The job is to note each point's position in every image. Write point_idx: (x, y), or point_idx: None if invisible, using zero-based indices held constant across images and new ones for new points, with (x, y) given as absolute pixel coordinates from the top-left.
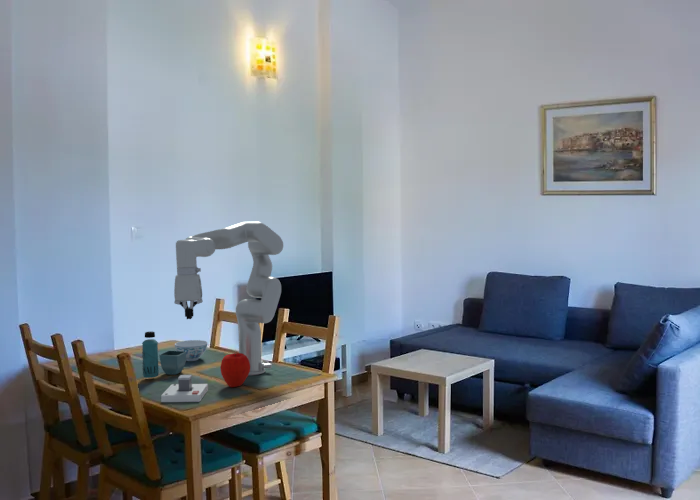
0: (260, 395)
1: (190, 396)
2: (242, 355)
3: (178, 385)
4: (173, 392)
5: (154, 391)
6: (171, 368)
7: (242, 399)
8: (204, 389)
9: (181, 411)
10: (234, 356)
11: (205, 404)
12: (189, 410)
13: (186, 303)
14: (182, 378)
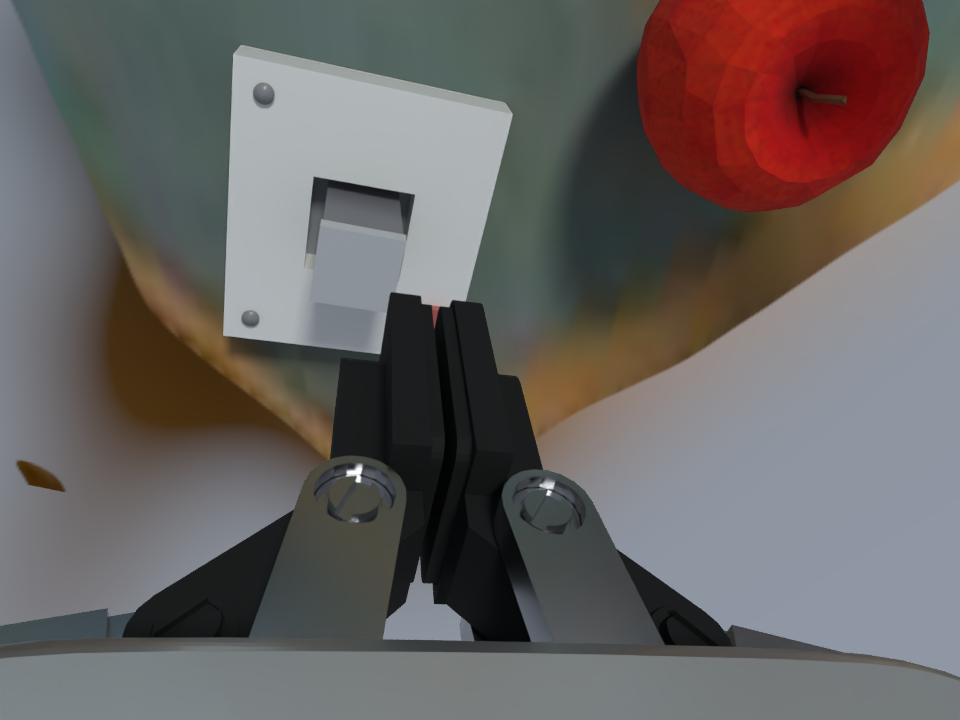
0: (765, 291)
1: None
2: (886, 108)
3: (295, 110)
4: (289, 288)
5: (100, 32)
6: None
7: (660, 341)
8: (481, 230)
9: None
10: (824, 55)
11: None
12: None
13: (362, 606)
14: (342, 302)
